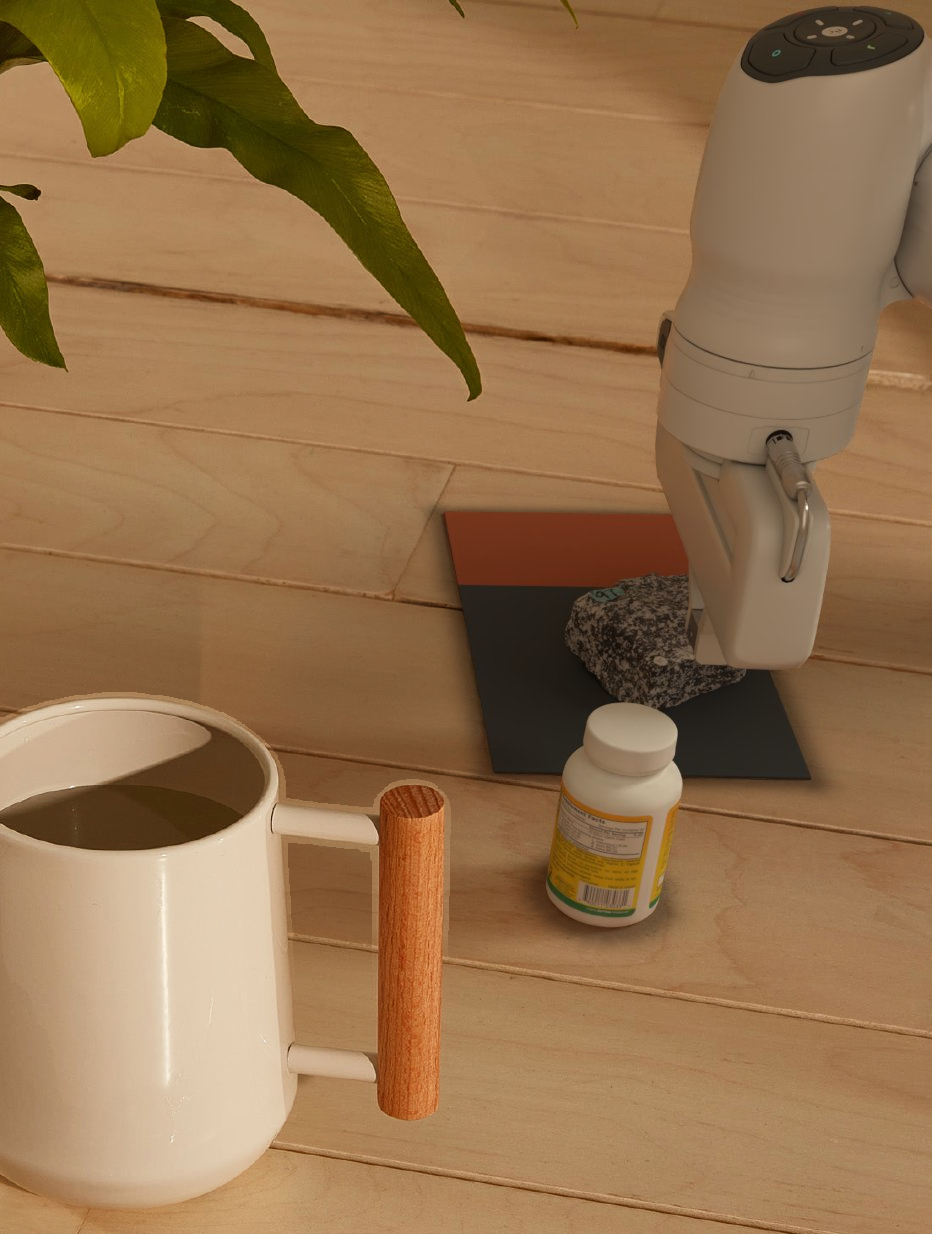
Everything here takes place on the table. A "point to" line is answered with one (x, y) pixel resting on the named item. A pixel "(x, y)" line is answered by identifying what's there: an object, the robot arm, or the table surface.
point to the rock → (643, 642)
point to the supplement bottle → (615, 817)
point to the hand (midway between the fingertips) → (706, 649)
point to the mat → (558, 680)
